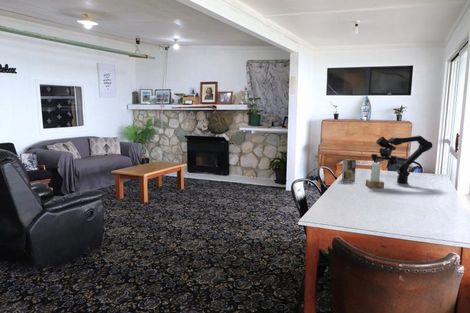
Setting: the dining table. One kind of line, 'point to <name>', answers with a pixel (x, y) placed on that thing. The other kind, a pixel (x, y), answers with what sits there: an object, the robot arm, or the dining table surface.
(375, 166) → the sage block
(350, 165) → the coffee box
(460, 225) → the dining table surface
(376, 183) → the walnut base block
